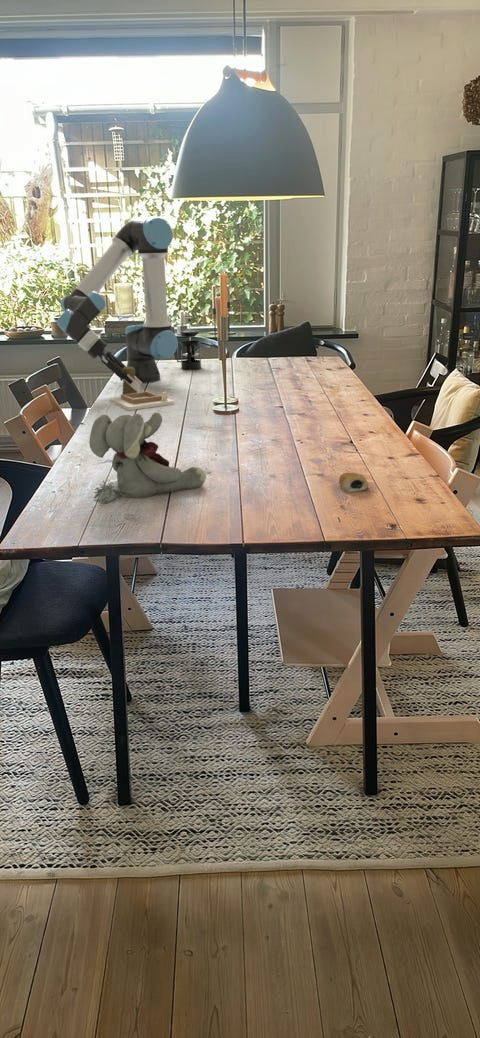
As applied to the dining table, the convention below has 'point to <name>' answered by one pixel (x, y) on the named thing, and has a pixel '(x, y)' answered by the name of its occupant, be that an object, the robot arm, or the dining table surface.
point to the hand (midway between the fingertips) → (139, 386)
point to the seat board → (141, 400)
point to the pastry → (353, 482)
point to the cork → (126, 387)
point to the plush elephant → (138, 459)
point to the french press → (190, 350)
